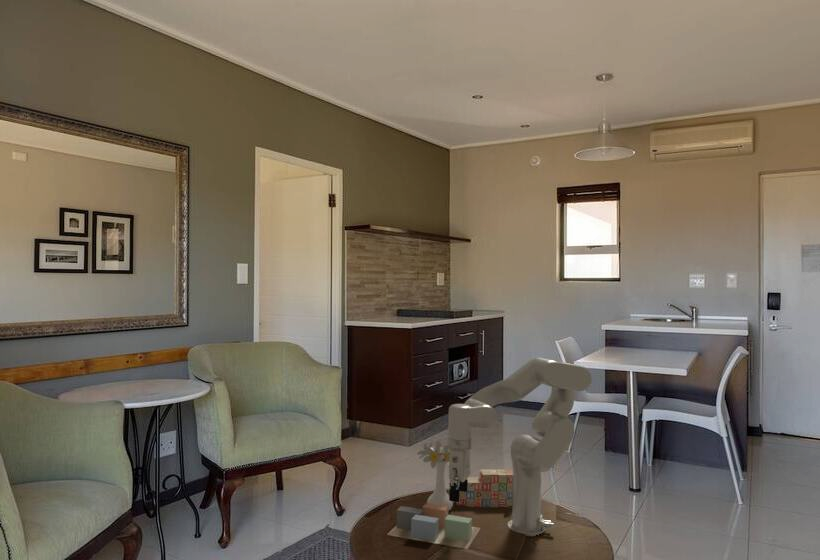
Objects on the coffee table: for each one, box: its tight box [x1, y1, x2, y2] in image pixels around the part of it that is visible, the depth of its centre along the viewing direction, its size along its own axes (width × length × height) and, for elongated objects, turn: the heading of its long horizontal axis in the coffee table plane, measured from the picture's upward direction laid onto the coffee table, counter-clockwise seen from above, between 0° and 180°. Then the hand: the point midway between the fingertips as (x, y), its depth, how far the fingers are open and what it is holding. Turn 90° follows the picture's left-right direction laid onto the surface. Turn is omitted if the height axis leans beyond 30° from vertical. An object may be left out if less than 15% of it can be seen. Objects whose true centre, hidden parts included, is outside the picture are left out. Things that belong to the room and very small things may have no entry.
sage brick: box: [444, 514, 473, 542], centre depth 193 cm, size 8×4×6 cm, turn 70°
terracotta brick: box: [422, 502, 450, 528], centre depth 203 cm, size 8×4×6 cm, turn 70°
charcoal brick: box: [396, 505, 423, 530], centre depth 200 cm, size 8×4×6 cm, turn 70°
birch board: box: [386, 524, 481, 550], centre depth 197 cm, size 27×17×1 cm, turn 70°
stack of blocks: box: [455, 468, 513, 508], centre depth 225 cm, size 21×6×12 cm, turn 92°
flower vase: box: [417, 440, 454, 511], centre depth 216 cm, size 13×18×25 cm
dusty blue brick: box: [411, 515, 439, 542], centre depth 193 cm, size 8×4×6 cm, turn 70°
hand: (458, 496), depth 193 cm, fingers open, 9 cm apart
